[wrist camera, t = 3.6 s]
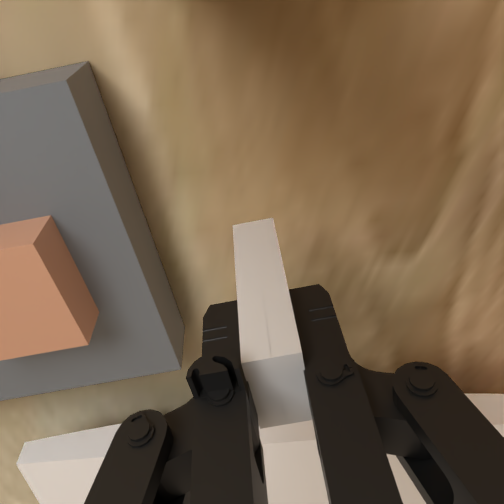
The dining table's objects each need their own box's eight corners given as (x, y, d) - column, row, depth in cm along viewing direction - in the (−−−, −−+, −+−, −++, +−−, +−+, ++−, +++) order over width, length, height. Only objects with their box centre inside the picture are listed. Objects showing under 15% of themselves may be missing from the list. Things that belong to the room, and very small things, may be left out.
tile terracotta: (-75, 238, 17) (-106, 269, 15) (51, 215, 17) (32, 243, 15) (-9, 331, 20) (-30, 365, 18) (99, 311, 20) (88, 345, 18)
